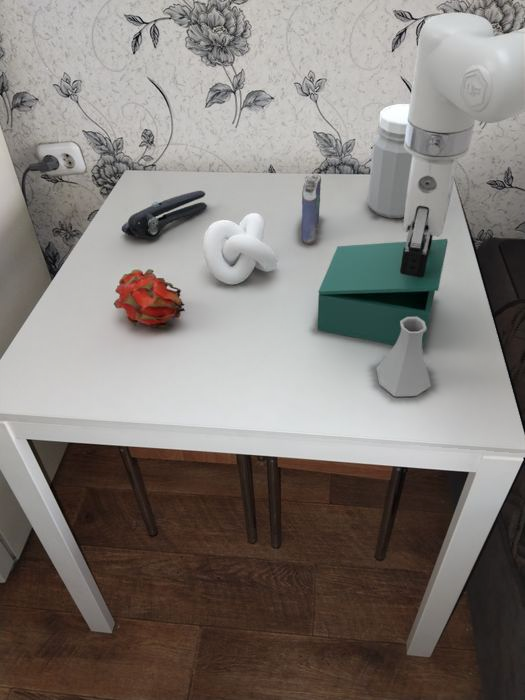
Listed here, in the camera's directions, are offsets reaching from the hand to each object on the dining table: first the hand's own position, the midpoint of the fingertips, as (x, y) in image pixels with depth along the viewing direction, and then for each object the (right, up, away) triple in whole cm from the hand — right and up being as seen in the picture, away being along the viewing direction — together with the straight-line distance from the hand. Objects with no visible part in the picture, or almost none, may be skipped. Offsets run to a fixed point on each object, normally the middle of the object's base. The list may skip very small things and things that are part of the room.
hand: (415, 259), depth 82 cm
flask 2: (-12, +9, +26) cm, 31 cm away
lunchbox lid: (-4, -1, +3) cm, 5 cm away
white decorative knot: (-24, +1, +18) cm, 30 cm away
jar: (+4, +15, +31) cm, 35 cm away
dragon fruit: (-38, -8, +11) cm, 40 cm away
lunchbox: (-4, -7, +9) cm, 12 cm away
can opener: (-39, +11, +30) cm, 50 cm away
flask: (-2, -17, -1) cm, 17 cm away
